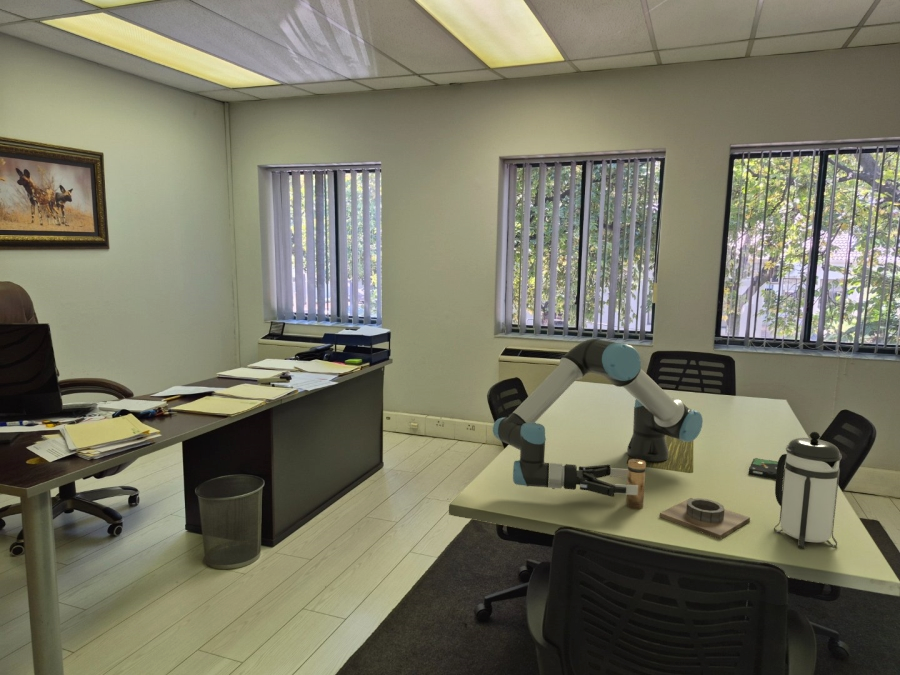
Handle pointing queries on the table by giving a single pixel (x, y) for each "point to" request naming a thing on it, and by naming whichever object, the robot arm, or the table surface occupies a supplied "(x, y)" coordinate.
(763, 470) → the disk drive
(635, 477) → the copper tube
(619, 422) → the table surface
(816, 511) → the coffee press
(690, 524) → the collar plate
